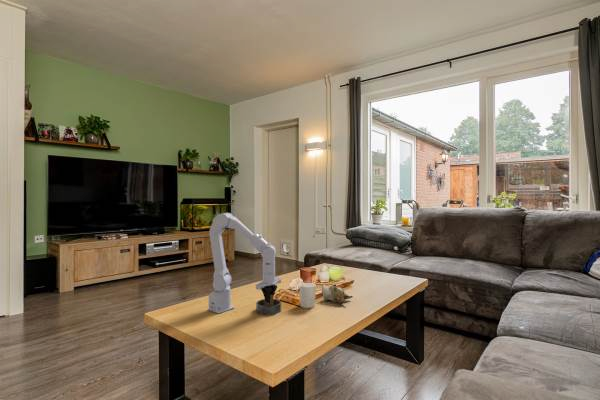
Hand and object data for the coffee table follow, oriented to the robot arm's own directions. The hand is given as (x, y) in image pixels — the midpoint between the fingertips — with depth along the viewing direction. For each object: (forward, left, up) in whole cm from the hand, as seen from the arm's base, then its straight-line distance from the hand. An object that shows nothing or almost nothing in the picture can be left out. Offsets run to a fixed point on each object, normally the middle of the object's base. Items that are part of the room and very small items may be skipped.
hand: (268, 301), depth 151 cm
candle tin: (0, 0, -4) cm, 4 cm away
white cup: (+16, -10, -4) cm, 19 cm away
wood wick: (0, 0, -3) cm, 3 cm away
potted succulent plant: (+30, -17, -4) cm, 35 cm away
